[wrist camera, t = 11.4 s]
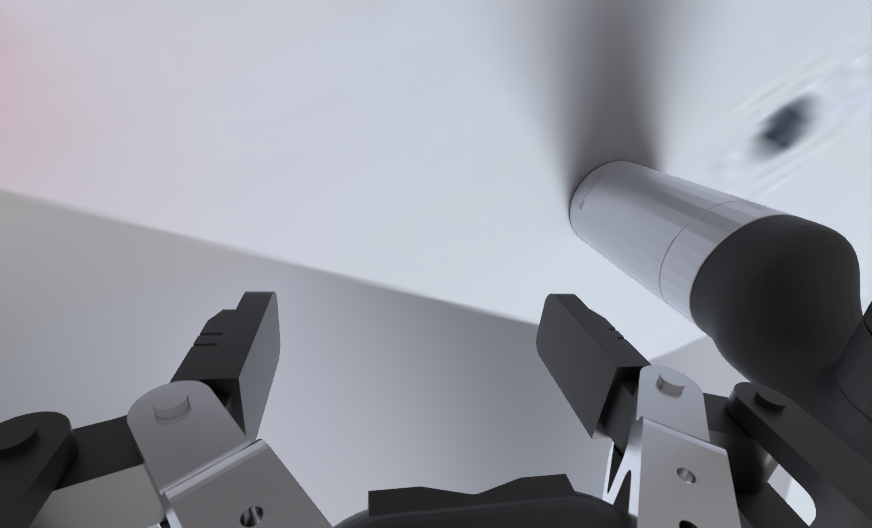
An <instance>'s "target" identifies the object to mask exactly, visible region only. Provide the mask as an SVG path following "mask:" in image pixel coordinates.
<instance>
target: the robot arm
mask: <svg viewBox="0 0 872 528" xmlns="http://www.w3.org/2000/svg"><path fill="white" fill-rule="evenodd" d="M570 221H571V225H572V228H573V230H574V232H575V233H576V235H577V236H578V237H579V238H580V239H581V240H582V241H584V242H585V243H586V244H588V245H589V246H590V247H592V248H593V249H594V250H596V251H597V252H598V253H600V254H601V255H602V256H603V257H605V258H606V259H607V260H609V261H610V262H611V263H613V264H614V265H615V266H617V267H618V268H619V269H621V270H622V271H623V272H625V273H626V274H627V275H629V276H630V277H631V278H633V279H634V280H635V281H637V282H638V283H639V284H641V285H642V286H643V287H645V288H646V289H647V290H649V291H650V292H651V293H653V294H654V295H655V296H657V297H658V298H659V299H661V300H662V301H663V302H665V303H666V304H667V305H669V306H670V307H671V308H673V309H674V310H676V311H677V312H678V313H680V314H681V315H682V316H684V317H685V318H686V319H688V320H689V321H690V322H692V323H693V324H694V325H696V326H697V327H698V328H700V329H701V330H702V331H703V332H705V333H706V334H707V335H709V336H710V337H711V338H712V339H713V340H714V342H715V344H716V346H717V348H718V350H719V352H720V353H721V354H722V356H723V357H724V358H725V359H726V360H727V362H729V364H730V365H732V366H733V367H734V368H735V369H736V370H737V371H738V372H740V373H741V374H742V375H743V376H744V377H745V378H747V379H748V380H749V381H750V382H741V383H738V384H736V385H735V387H734V389H733V391H732V393H731V395H730V397H729V398H727V397H723V396H717V395H712V394H707V393H703V392H702V390H701V389H700V387H699V386H698V385H697V384H696V383H695V382H694V381H693V380H692V379H690V378H688V377H687V376H686V375H684V374H682V373H680V372H678V371H676V370H674V369H671V368H668V367H664V366H658V365H651V364H650V363H649V362H648V361H647V360H646V359H645V358H644V357H643V356H642V355H641V354H640V353H639V352H638V351H637V350H636V349H635V348H634V347H633V346H632V345H631V344H630V343H629V342H628V341H627V340H626V339H624V337H623V336H622V335H621V334H620V333H619V332H618V331H616V330H615V328H614V327H613V326H612V325H611V324H610V323H609V322H608V321H607V320H606V319H605V318H604V317H602V316H600V315H599V314H597V313H595V312H594V311H592V310H590V309H589V308H588V307H587V306H586V305H585V304H584V303H583V302H582V301H581V300H580V299H579V298H578V297H577V296H576V295H574V294H549V295H548V296H547V298H546V300H545V304H544V308H543V312H542V316H541V320H540V325H539V329H538V333H537V339H536V344H537V350H538V353H539V356H540V357H541V359H542V360H543V362H544V364H545V365H546V367H547V368H548V370H549V372H550V373H551V375H552V376H553V378H554V380H555V381H556V383H557V384H558V386H559V388H560V389H561V391H562V392H563V394H564V395H565V397H566V399H567V400H568V402H569V403H570V405H571V407H572V408H573V410H574V411H575V413H576V415H577V416H578V418H579V419H580V421H581V422H582V424H583V426H584V427H585V429H586V430H587V432H588V434H589V435H590V437H591V438H592V439H595V438H611V439H612V440H613V444H612V446H611V449H610V452H609V458H608V464H607V471H606V478H605V484H604V492H603V498H602V499H599V498H597V497H594V496H592V495H588V494H585V493H581V492H577V491H574V489H573V487H572V485H571V483H570V481H569V479H568V478H567V476H566V474H559V475H547V476H536V477H524V478H519V479H516V480H514V481H511V482H508V483H506V484H503V485H500V486H498V487H495V488H493V489H490V490H488V491H485V492H482V493H479V494H465V493H459V492H452V491H446V490H440V489H433V488H427V487H410V488H399V489H387V490H376V491H369V492H368V509H367V510H364V511H362V512H359V513H357V514H355V515H353V516H351V517H349V518H347V519H345V520H343V521H342V522H340V523H339V524H338V525H336V526H334V527H332V526H331V524H330V523H329V522H328V521H327V519H326V518H325V517H324V515H323V514H322V513H321V512H320V510H319V509H318V508H317V507H316V505H315V504H314V503H313V501H312V500H311V499H310V497H309V496H308V495H307V494H306V492H305V491H304V490H303V488H302V487H301V486H300V485H299V483H298V482H297V481H296V479H295V478H294V477H293V476H292V474H291V473H290V472H289V471H288V469H287V468H286V467H285V465H284V464H283V463H282V462H281V460H280V459H279V458H278V456H277V455H276V454H275V453H274V451H273V450H272V449H271V447H270V446H269V445H268V444H267V443H266V442H265V441H264V440H262V439H258V440H256V437H257V434H258V430H259V427H260V423H261V420H262V416H263V413H264V409H265V406H266V402H267V399H268V395H269V392H270V388H271V385H272V381H273V377H274V374H275V371H276V368H277V364H278V360H279V354H280V332H279V320H278V305H277V296H276V293H275V292H245V293H244V295H243V297H242V299H241V300H240V302H239V305H238V306H237V308H236V310H222V311H221V312H219V313H218V314H217V315H215V316H214V317H212V318H211V319H209V320H208V321H207V323H206V325H205V326H204V328H203V329H202V331H201V333H200V336H198V337H197V339H196V341H195V342H194V346H193V347H192V348H191V349H190V351H189V352H188V354H187V355H186V357H185V358H184V360H183V362H182V363H181V365H180V367H179V368H178V370H177V371H176V373H175V375H174V377H173V378H172V380H171V381H170V383H168V384H165V385H162V386H159V387H157V388H155V389H153V390H151V391H149V392H147V393H146V394H144V395H143V396H141V397H140V398H139V399H138V400H137V401H136V402H135V403H134V404H133V405H132V406H131V408H130V410H129V411H128V414H127V415H125V416H123V417H119V418H116V419H112V420H108V421H104V422H101V423H96V424H93V425H88V426H84V427H80V428H76V429H72V427H71V424H70V421H69V419H68V418H67V417H66V416H65V415H63V414H60V413H57V412H36V413H30V414H25V415H22V416H18V417H15V418H12V419H9V420H6V421H4V422H2V423H0V528H146V527H149V526H152V525H154V524H157V525H158V527H159V528H872V302H871V303H870V305H869V306H868V308H867V310H866V312H865V314H864V316H863V314H862V309H861V302H860V270H859V263H858V259H857V255H856V253H855V251H854V249H853V247H852V245H851V244H850V243H849V242H848V240H847V239H846V238H845V237H843V236H842V235H841V234H839V233H838V232H837V231H835V230H833V229H831V228H829V227H826V226H824V225H821V224H818V223H815V222H812V221H809V220H806V219H803V218H800V217H797V216H794V215H791V214H788V213H785V212H782V211H779V210H776V209H773V208H770V207H766V206H763V205H760V204H757V203H754V202H750V201H747V200H744V199H741V198H738V197H735V196H732V195H729V194H726V193H723V192H720V191H717V190H714V189H711V188H708V187H705V186H702V185H699V184H696V183H693V182H690V181H687V180H684V179H681V178H678V177H674V176H671V175H668V174H665V173H662V172H660V171H657V170H654V169H651V168H648V167H644V166H641V165H638V164H635V163H632V162H628V161H614V162H610V163H607V164H604V165H602V166H600V167H598V168H596V169H595V170H593V171H592V172H591V173H590V174H589V175H587V176H586V177H585V179H584V180H583V181H582V182H581V183H580V185H579V186H578V188H577V190H576V191H575V193H574V196H573V199H572V201H571V207H570ZM778 464H780V465H781V466H782V467H783V468H784V469H785V470H786V471H787V472H788V473H789V474H790V475H791V476H792V477H793V478H794V479H795V480H796V481H797V482H798V483H799V484H800V485H801V486H802V487H803V488H804V489H805V490H806V491H807V492H808V494H809V495H810V496H811V498H812V500H813V502H814V504H815V507H816V517H815V519H814V521H813V522H812V524H811V525H810V526H808V525H807V524H806V523H805V522H804V521H803V520H802V519H801V518H800V517H799V515H798V514H797V513H796V512H795V511H794V510H793V509H792V508H791V507H790V506H789V505H788V504H787V503H786V502H785V500H784V499H783V498H782V497H781V496H780V495H779V494H778V493H777V492H776V491H775V490H774V489H773V488H772V487H771V485H770V484H769V483H768V482H767V481H768V480H769V478H770V476H771V475H772V473H773V471H774V470H775V469H776V467H777V465H778Z"/></svg>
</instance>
